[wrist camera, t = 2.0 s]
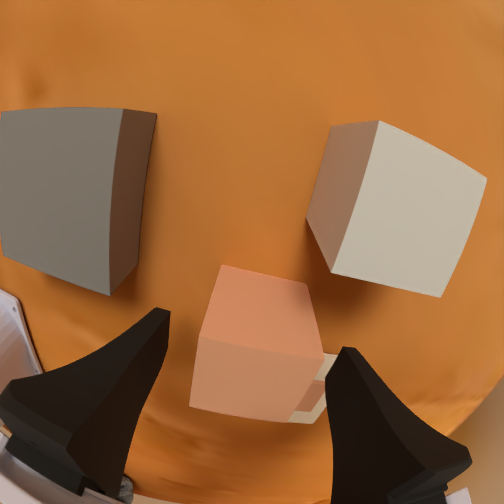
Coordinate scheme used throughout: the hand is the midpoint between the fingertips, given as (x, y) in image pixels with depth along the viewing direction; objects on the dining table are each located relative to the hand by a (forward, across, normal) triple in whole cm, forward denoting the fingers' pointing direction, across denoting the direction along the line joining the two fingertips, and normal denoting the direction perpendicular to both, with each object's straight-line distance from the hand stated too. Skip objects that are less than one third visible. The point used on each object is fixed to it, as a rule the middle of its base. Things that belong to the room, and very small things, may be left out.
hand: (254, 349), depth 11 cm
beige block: (+3, -3, -7) cm, 8 cm away
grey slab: (+3, +10, -4) cm, 11 cm away
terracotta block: (+3, 0, 0) cm, 3 cm away
